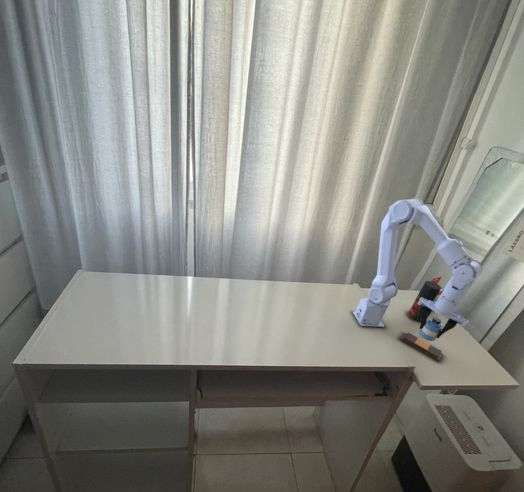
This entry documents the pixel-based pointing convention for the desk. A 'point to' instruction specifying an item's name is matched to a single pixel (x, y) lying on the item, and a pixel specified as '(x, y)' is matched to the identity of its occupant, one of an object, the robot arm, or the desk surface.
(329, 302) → the desk surface
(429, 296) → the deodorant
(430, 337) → the bottle
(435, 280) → the ink box
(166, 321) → the desk surface
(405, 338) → the snack bar
